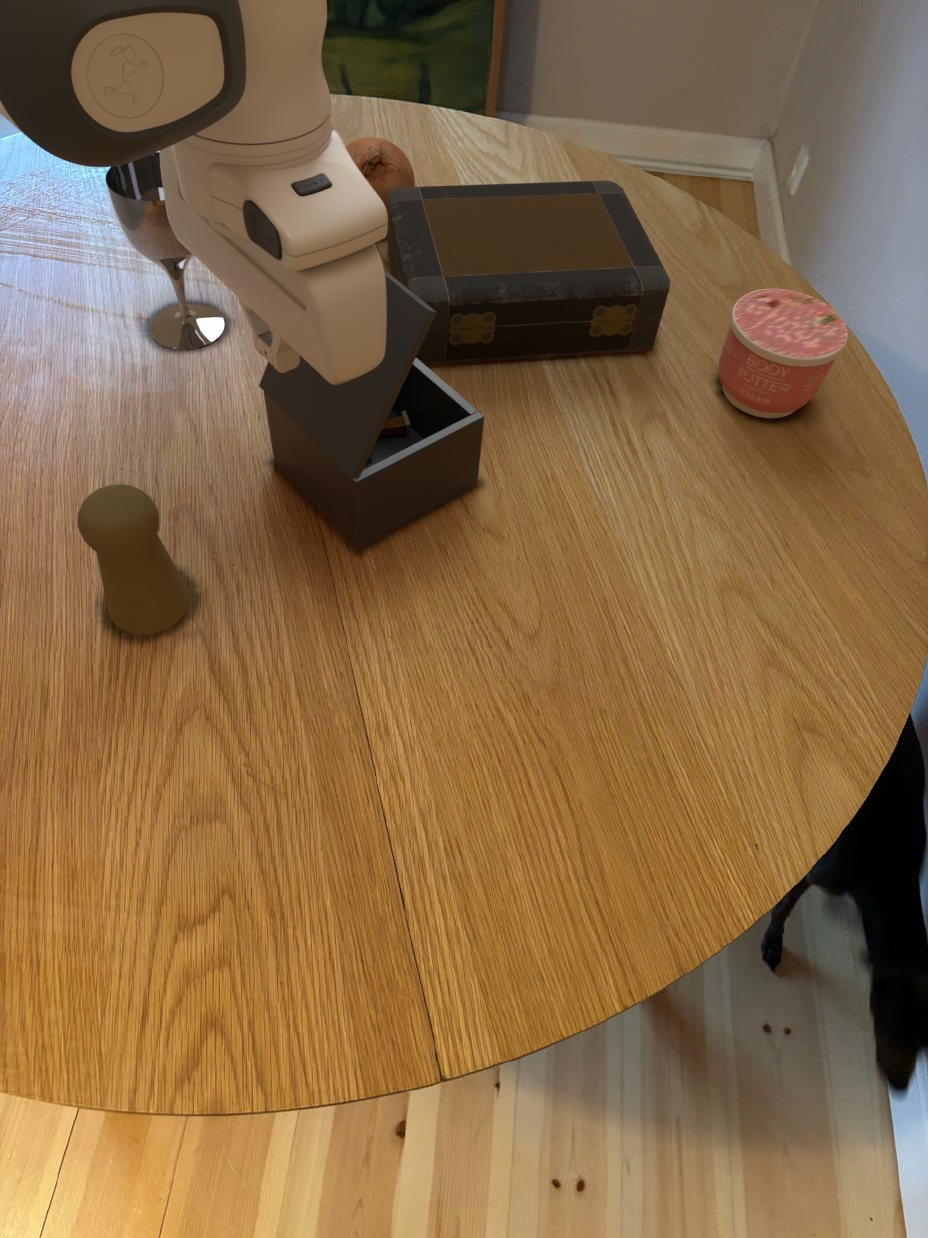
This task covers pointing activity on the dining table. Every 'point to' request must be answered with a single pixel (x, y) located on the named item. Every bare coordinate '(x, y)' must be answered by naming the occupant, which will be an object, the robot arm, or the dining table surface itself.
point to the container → (778, 351)
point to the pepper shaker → (133, 560)
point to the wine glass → (160, 251)
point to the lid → (354, 387)
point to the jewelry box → (527, 269)
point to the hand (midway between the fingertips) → (278, 359)
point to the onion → (381, 165)
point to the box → (389, 461)
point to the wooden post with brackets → (397, 427)
